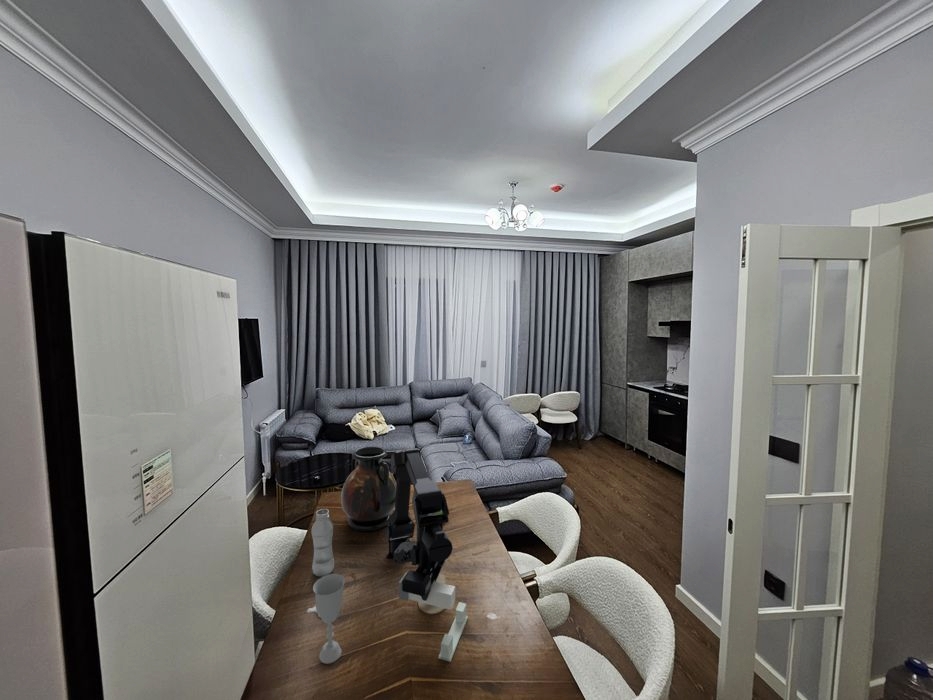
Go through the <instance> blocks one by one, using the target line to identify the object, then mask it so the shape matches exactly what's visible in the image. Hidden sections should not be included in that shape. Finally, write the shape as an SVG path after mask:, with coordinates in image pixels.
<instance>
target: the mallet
mask: <svg viewBox="0 0 933 700" xmlns="http://www.w3.org/2000/svg"><path fill="white" fill-rule="evenodd" d="M408 572H409V571H406V572H405V573H404V575H402V577H401V579H400V580H399V582H398V599H399V600H403V601H405V602H406V601H408V600H410V601H414V602H422V603H425V604H429V605H433V606H437V607H441V608H445V609H444V610H448V611H449V610H450V611H451V610H452V608H453V607H454V604H455V602H456V586H455V585H451V584H447V583H445V584H443V583H439V582H435V581H434V583H433V586H432V588H431V591H430V593H429V596H428V598H427V600H426V601H424V600H422V597H421V596H420V595H416V594H412V593H408V592H404V591H402V590H401V581H402V580H403V578H404V577H405V576H406V574H407V573H408Z"/></svg>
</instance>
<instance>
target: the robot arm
mask: <svg viewBox="0 0 933 700" xmlns="http://www.w3.org/2000/svg"><path fill="white" fill-rule="evenodd" d="M390 465H391V468H393V472H394V475H395V476H396V499H395V508H394V511H392V512H391V516H390V517H389V523H388V524H387V525H386V526H385V528H384V529H385V530H384V531H385V538H386V541H387V543H388V553H387V554H386V558H387V559H390V560H391V559H392V560H393V561H394V563H395V565H397V566H399V565H405V564H407V563H411V566H415V567H416V569H415V570H411V569H410V570H409V571H407V572H408V573H407V574H406V576H405V577H404V578H403V580H402V581H401V590H402V591H404V592H408V593H412V594H416V595H420V596H421V597H422V600H424V601H426V600H427V598H428V596H429V593H430V591H431V588H432V586H433V583H434V581H435V582H436V580H437V578H438V576H439V574H440V573H441V571H442V569H443V567H444V565H445V563H446V560H448V558H449V557H451V554H452V552H453V544H452V541H451V540H450V538H449V537H448V535H447V533H446V531H445V530H444V528H443V527H444V525H443V524H445V523H449V520H450V519H449V515H450V511H449V507H448V502H447V497H446V496H445V493H444V492H443V491H442V490H441V488H440V487H439V485H438V483H436V482H435V481H433V480H431V478H430V475H429V473H428V471H427V468H426V466H425V463H424V462H423V459H422V453H421V449H420V448H417V447H413V448H405V449H401V450H395V451H394V452H392V454H391V455H390ZM411 487H413V494H412V498H411ZM410 500H411V505H412V510H413V516H414V520H415V523H414V520H413V518H412V515H411V514H410ZM441 510H442V514H440V515H436V514H435V513H436V512H440V511H441ZM415 526H416V540H411V539H414V534H415Z"/></svg>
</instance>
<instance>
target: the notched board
mask: <svg viewBox="0 0 933 700" xmlns="http://www.w3.org/2000/svg"><path fill="white" fill-rule="evenodd" d="M468 617H469V616H468V615H467V603H464V602H460V601H458V605H457V606H456V608H455V618H454V620H453V622H452V624H451V627H450V629H449V631H448V634H447V633H444V636H443V637H442V641H441V642H440V652H439V654H438V659H440V660H442V661H445V662H449V663H451V662H452V660H453V657H454V654H455V651H456V649H457V646H458V644H459V642H460V638H461V636H462V634H463V631H464V629H465V626H466V624H467V621H468V619H469V618H468Z"/></svg>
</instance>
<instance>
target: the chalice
mask: <svg viewBox="0 0 933 700" xmlns="http://www.w3.org/2000/svg"><path fill="white" fill-rule="evenodd" d="M345 583H346V579H345V577H344V576H343V575H342V574H339V573H330V574H328V575H326V576H323V577H319V578H318V579H317V580H316V581H315V582H314V584H313V586H312V589H313V592H314V594H315V605H316V610H317V612H318V613H317V615H318V614H319V616H320V617H319V616H318V617H319V618H321V620H322V622H323V623H325V624H326V625H327V627H326V631H327V634H326V635H325V637H326V639H327V641H326V642H325V643H324V645H323V646H322V648H321V650H320V653H319V654H318V655H319V656H318V659H319V661H320V662H321V663H323V664H332V663H335V662H337V660H338V659H339V658H340V657H341V656H342V652H343V651H342V648H341V647H340V645H339V642H338V641H336V640H334V639H333V638H334V636H335V632H333V629H334V628H335V627H334V625H333V622H335V621H336V619H337V618H338V615H339V613H340V610H341V609H342V605H343V601H344V585H345Z"/></svg>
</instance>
